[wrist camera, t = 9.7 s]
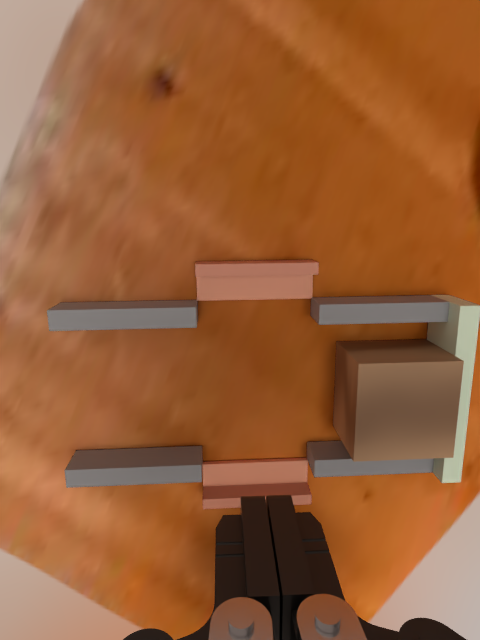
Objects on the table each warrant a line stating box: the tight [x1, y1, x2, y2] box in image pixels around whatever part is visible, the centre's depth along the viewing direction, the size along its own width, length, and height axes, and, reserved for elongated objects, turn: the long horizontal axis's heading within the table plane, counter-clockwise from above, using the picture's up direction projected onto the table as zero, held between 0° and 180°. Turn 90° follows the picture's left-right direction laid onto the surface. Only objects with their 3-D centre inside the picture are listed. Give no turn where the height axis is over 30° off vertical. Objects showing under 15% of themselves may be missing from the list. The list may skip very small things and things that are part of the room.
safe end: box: [427, 295, 480, 483], centre depth 24 cm, size 9×1×3 cm, turn 1°
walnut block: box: [333, 339, 464, 462], centre depth 23 cm, size 5×5×4 cm
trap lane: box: [47, 260, 450, 509], centre depth 24 cm, size 13×20×2 cm
